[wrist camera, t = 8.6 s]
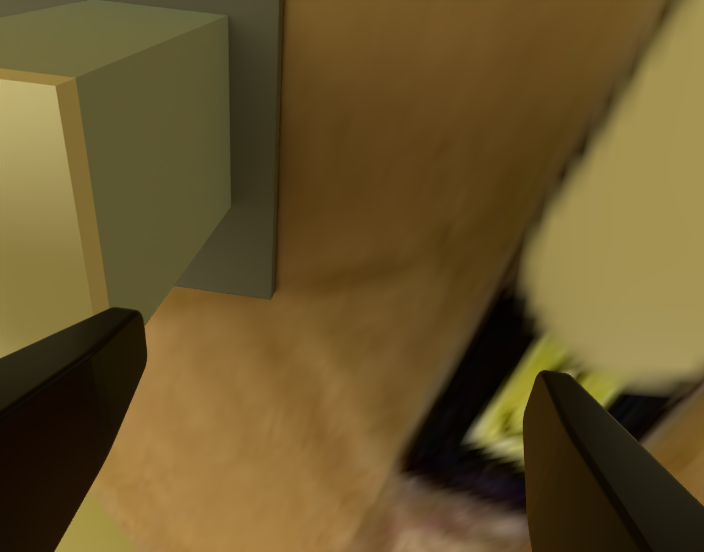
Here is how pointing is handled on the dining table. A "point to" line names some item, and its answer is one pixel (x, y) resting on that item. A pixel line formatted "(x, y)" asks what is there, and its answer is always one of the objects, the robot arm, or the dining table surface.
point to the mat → (235, 145)
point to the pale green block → (106, 159)
